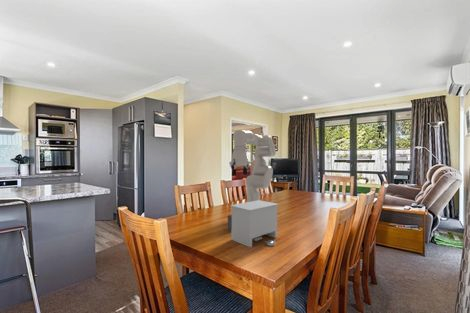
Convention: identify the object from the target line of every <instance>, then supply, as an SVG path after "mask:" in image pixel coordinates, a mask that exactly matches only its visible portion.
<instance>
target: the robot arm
mask: <svg viewBox="0 0 470 313" xmlns="http://www.w3.org/2000/svg"><path fill="white" fill-rule="evenodd" d="M232 140H233V143H234V144H233V151H232V154H231V155H232V156H231V160H230V161H229V162H228V163H229V166H230V169H231V172H232V173H231V175H232V176H234V177H235V176H237V167H242V175H248V168H249V166H250V163H251V162H250V161H249V160H248V157H247V151H246V149H247V147H246V145H250V146H256V147H255V149H254V156H255V164H254V165H253V168H252V171H251V174H250V175H248V176H247V177H246V178H245V183H246V192H247V193H246V194H247V195H246V198H247V199H246V202H251V201H257V200H261V193H260V191H259V189H265V190H266V189H268V188H269V187H270V184H271V181H272V178H273V174H274V169H273V167H272V166H271V165H267V160H265V159H264V158H266V157H267V158H269V157H270V158H272V157H275V155H276V154H277V152H276V147H275V144H274V140H273V138H272V136H270V135H269V134H267V135H266V134H265V135H263V134H262V135H260V134H257V133H253V132H252V131H250V130H244V129H236V130H235V131H234V132H233V134H232Z"/></svg>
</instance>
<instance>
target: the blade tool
mask: <svg viewBox="0 0 470 313" xmlns="http://www.w3.org/2000/svg"><path fill="white" fill-rule="evenodd" d="M227 231H229V232H231V233H232V214H228V215H227ZM262 239H263V237H262V235H261V236H258V237H255V238H252V241H255V242H256V241H260V240H262Z"/></svg>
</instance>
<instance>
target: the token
mask: <svg viewBox="0 0 470 313" xmlns="http://www.w3.org/2000/svg"><path fill="white" fill-rule="evenodd" d="M265 245H266V246H268V247H275V246H276V241H275V240H272V239H269V240H268V239H267V240H265Z"/></svg>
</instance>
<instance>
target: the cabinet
mask: <svg viewBox="0 0 470 313" xmlns="http://www.w3.org/2000/svg"><path fill="white" fill-rule="evenodd" d="M278 206H279V203H276V202H272V201H271V202H270V201H265V200H261V199H260V200H257V201H251V202H247V201H246V202H242V203H241V202H240V203H236V204H231V205H230V208H231V215H232V232H231V240H232V241H234V242H236V243H239V244H242V245H244V246H246V247H248V248H252V247H253V240H252V238H255V237H258V236H261V237H262V236H264V235H266V236H269V237H272V238H275V239H276V238H277V237H278Z"/></svg>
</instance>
